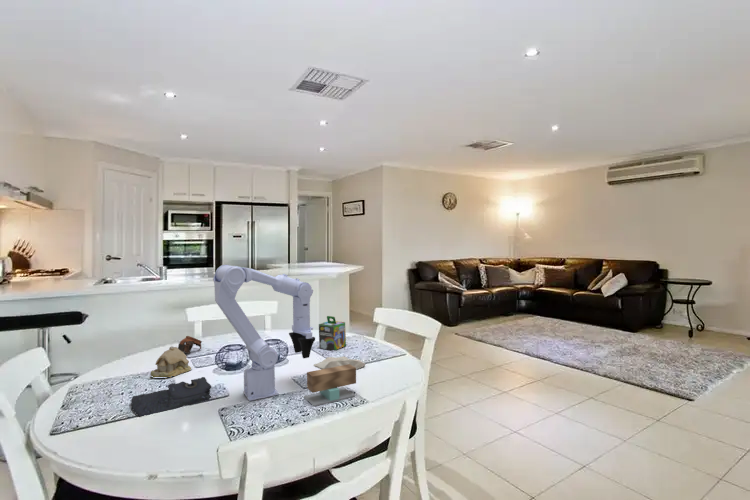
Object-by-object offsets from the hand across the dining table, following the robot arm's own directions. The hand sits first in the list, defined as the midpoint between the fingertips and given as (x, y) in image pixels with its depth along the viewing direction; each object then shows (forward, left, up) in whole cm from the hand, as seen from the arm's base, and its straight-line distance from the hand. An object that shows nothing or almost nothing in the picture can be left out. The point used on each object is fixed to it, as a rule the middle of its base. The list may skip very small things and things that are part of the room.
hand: (301, 354), depth 135 cm
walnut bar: (+4, -16, -6) cm, 18 cm away
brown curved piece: (-30, +62, -10) cm, 70 cm away
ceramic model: (-38, +36, -10) cm, 54 cm away
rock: (+17, +8, -10) cm, 21 cm away
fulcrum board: (+3, -16, -10) cm, 19 cm away
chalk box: (+28, +35, -10) cm, 46 cm away
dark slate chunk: (-40, +8, -11) cm, 42 cm away
